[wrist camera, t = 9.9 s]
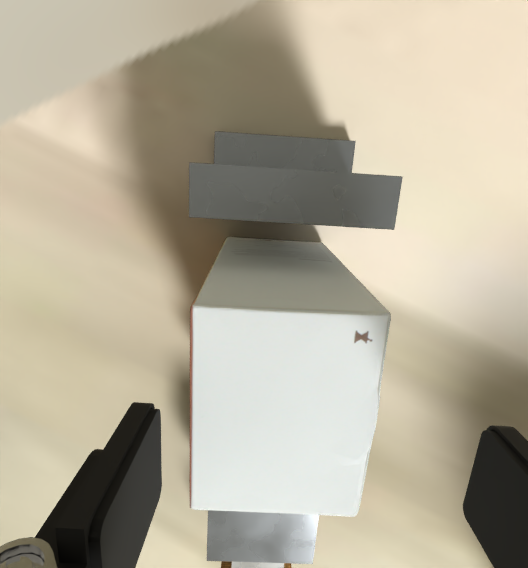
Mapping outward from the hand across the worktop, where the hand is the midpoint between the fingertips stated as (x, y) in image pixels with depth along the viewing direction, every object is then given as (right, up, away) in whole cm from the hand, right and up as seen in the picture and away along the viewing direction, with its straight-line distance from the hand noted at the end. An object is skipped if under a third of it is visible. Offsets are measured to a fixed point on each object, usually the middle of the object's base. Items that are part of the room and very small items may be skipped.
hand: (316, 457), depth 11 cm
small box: (-1, +4, +14) cm, 15 cm away
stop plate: (0, +11, +12) cm, 16 cm away
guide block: (-2, -8, +18) cm, 20 cm away
